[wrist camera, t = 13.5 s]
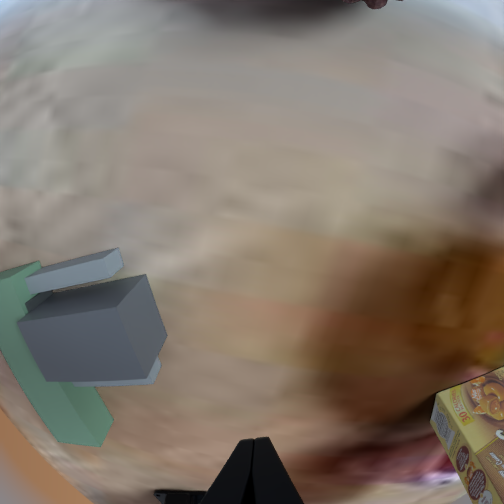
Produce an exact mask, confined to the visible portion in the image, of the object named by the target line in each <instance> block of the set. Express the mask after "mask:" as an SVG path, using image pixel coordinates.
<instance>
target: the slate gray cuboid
mask: <svg viewBox="0 0 504 504" xmlns="http://www.w3.org/2000/svg"><path fill="white" fill-rule="evenodd" d="M17 325H18V327H19V329H20V331H21V333H22V336H23V338H24V340H25V342H26V344H27V346H28V348H29V350H30V352H31V354H32V356H33V358H34V360H35V362H36V364H37V365H38V367H39V369H40V371H41V373H42V375H43V376H44V378H45V380H46V382H94V381H119V380H137V379H147V377H148V375H149V373H150V371H151V369H152V367H153V365H154V362H155V360H156V358H157V356H158V354H159V352H160V350H161V348H162V346H163V344H164V342H165V339H166V337H167V333H166V330H165V327H164V325H163V322H162V319H161V317H160V314H159V311H158V308H157V305H156V302H155V300H154V297H153V294H152V291H151V288H150V285H149V282H148V279H147V276H146V274H144V275H139V276H134V277H129V278H125V279H120V280H115V281H110V282H105V283H100V284H95V285H91V286H86V287H81V288H76V289H71V290H66V291H62V292H57V293H53V294H52V295H51V296H50V297H48V298H47V299H46V300H44V301H43V302H42V303H40V304H39V305H38V306H37V307H35V308H34V309H33V310H31V311H30V312H29V313H28V314H26V315H25V316H24V317H23V318H21V319H20V320H19V321H18V322H17Z"/></svg>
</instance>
